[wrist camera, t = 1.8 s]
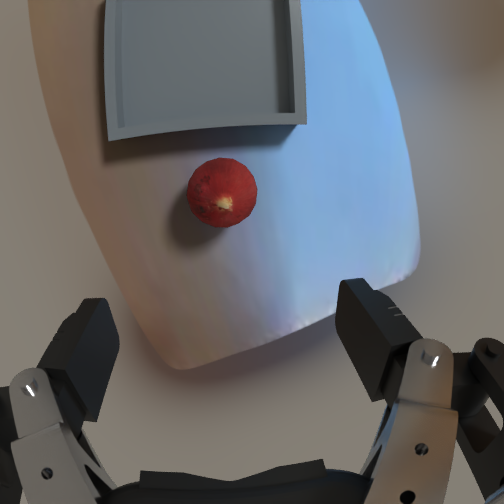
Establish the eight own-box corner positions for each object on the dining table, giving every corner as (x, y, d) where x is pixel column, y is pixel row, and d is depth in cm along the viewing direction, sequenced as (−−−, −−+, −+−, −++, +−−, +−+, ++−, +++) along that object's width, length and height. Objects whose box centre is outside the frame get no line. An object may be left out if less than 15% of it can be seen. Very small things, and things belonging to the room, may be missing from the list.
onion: (201, 220, 30) (196, 253, 22) (183, 164, 27) (170, 180, 20) (258, 202, 30) (272, 231, 22) (242, 146, 27) (251, 155, 20)
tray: (117, -14, 18) (108, -25, 16) (289, -28, 20) (295, -40, 17) (119, 139, 25) (108, 141, 23) (298, 123, 27) (306, 124, 24)
